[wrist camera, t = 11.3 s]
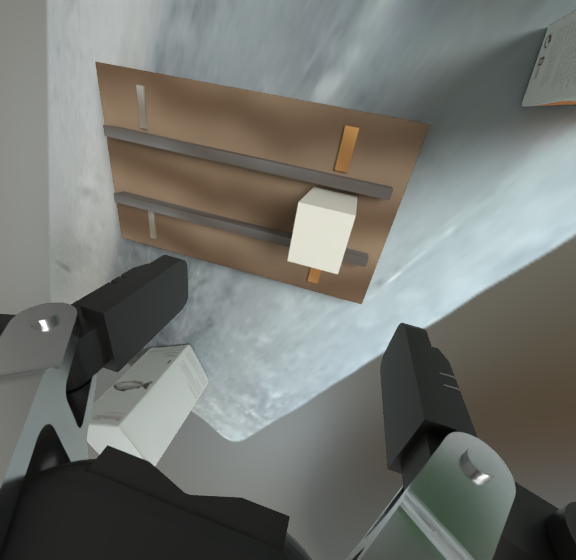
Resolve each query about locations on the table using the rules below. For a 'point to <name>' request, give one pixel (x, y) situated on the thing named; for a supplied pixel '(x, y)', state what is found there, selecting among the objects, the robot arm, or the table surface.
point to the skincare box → (555, 66)
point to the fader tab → (322, 229)
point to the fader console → (250, 173)
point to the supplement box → (148, 403)
